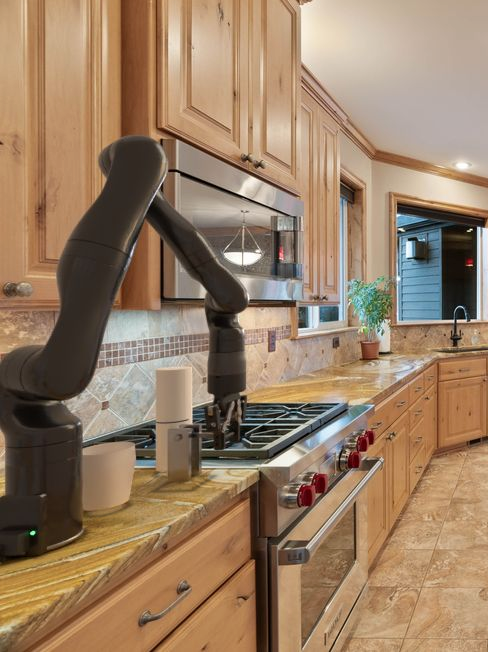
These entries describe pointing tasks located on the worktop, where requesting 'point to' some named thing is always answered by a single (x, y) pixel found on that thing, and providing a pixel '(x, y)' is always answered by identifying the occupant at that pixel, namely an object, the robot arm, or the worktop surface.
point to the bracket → (184, 453)
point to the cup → (107, 474)
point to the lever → (209, 434)
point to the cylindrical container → (171, 407)
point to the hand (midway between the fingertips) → (227, 445)
